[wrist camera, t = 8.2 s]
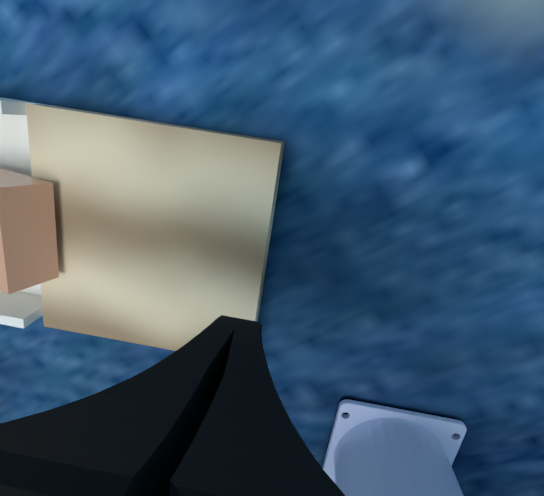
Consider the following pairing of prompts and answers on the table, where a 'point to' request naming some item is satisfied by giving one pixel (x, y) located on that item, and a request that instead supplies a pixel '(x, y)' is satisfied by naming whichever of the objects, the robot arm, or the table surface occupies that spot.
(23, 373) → the table surface
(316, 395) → the table surface
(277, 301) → the table surface
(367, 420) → the robot arm
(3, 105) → the box
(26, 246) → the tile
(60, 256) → the board
